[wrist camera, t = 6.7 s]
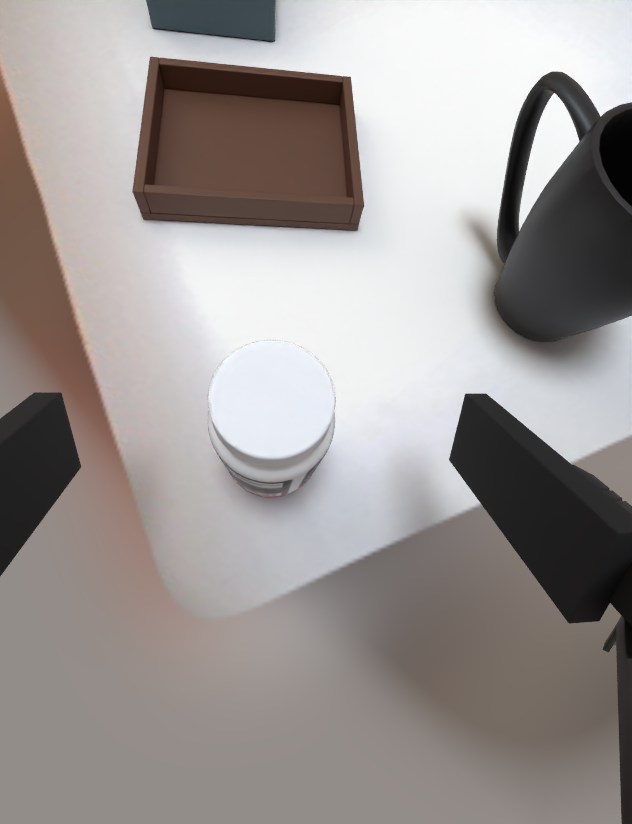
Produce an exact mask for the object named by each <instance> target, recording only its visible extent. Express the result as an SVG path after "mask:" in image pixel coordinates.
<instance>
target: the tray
mask: <svg viewBox="0 0 632 824" xmlns="http://www.w3.org/2000/svg"><path fill="white" fill-rule="evenodd" d="M133 194H134V196H135V199H136V201H137V204H138V206H139V209H140V212H141V214H142V217H143V219H153V220H172V221H191V222H210V223H229V224H248V225H267V226H286V227H305V228H324V229H344V230H357V229H358V225H359V221H360V218H361V214H362V211H363V207H364V201H363V191H362V182H361V172H360V162H359V152H358V143H357V133H356V123H355V114H354V104H353V94H352V85H351V77H345V76H343V77H342V76H335V75H325V74H315V73H305V72H295V71H286V70H276V69H266V68H256V67H246V66H236V65H226V64H217V63H207V62H197V61H187V60H177V59H167V58H160V59H159V58H157V57H150V61H149V69H148V77H147V85H146V92H145V100H144V108H143V115H142V123H141V131H140V138H139V146H138V154H137V161H136V169H135V177H134V185H133Z"/></svg>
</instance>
